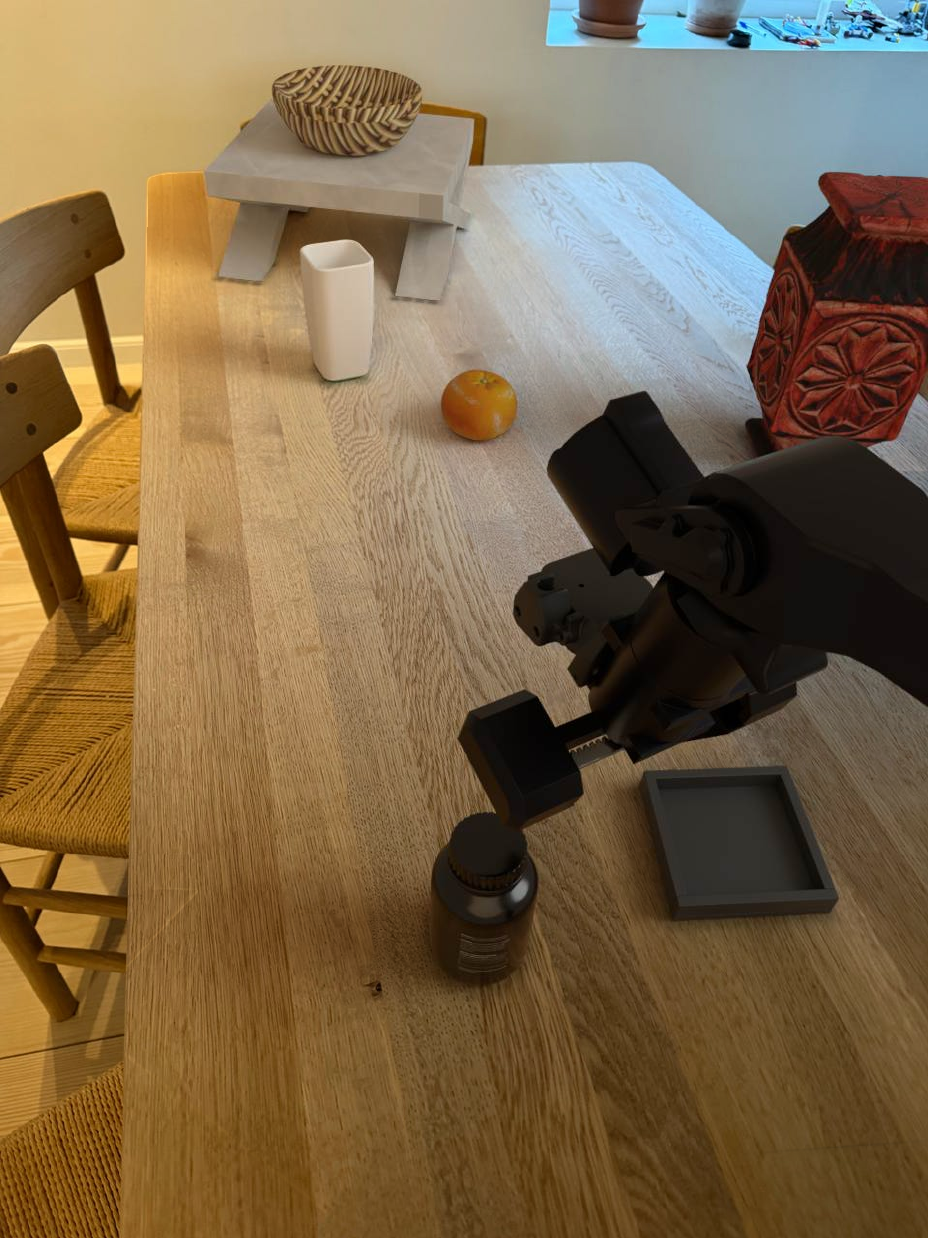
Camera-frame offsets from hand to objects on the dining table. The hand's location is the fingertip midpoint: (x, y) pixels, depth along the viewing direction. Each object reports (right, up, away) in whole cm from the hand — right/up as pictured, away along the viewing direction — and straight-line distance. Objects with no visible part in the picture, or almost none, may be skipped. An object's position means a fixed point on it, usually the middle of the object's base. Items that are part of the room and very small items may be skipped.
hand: (587, 766), depth 58 cm
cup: (-23, +40, +61) cm, 76 cm away
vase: (+31, +27, +52) cm, 67 cm away
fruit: (-6, +31, +53) cm, 62 cm away
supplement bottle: (-7, -13, +8) cm, 17 cm away
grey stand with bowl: (-25, +67, +89) cm, 113 cm away
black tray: (+13, -8, +14) cm, 21 cm away
